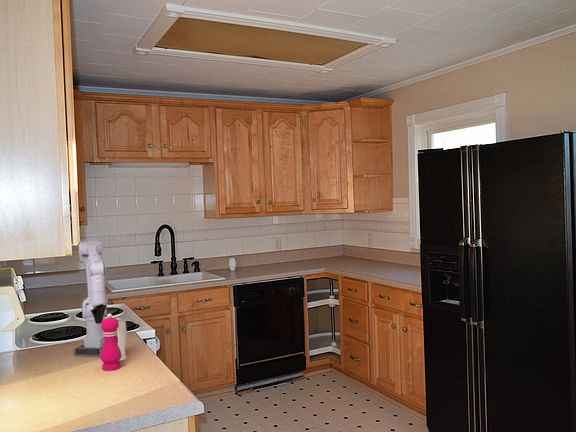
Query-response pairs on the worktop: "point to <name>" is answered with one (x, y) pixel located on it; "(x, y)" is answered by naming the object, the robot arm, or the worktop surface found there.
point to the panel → (93, 342)
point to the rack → (87, 351)
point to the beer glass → (121, 337)
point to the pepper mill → (110, 344)
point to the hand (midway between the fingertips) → (98, 323)
